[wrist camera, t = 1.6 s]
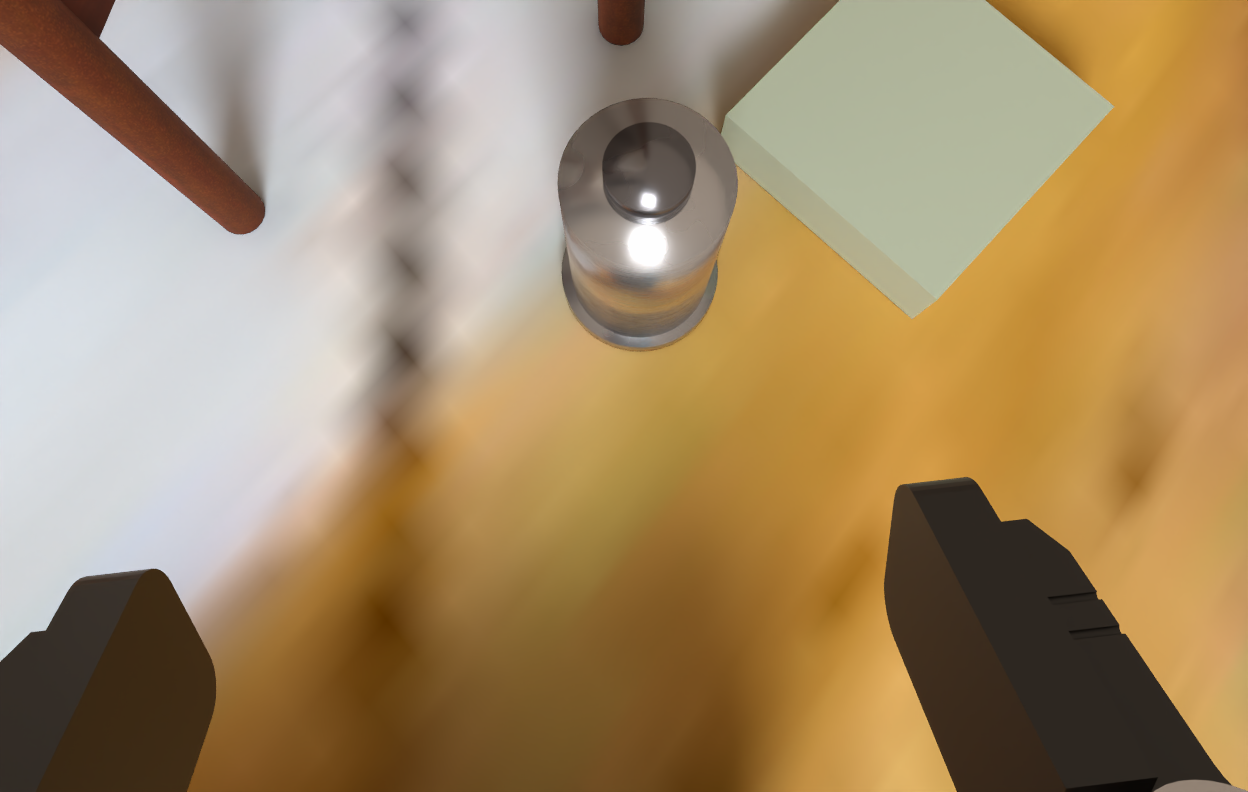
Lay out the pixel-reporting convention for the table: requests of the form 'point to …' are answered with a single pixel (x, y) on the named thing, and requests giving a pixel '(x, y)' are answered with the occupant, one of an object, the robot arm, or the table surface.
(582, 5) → the table surface
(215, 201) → the plant pot with stand
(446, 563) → the table surface
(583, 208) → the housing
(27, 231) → the table surface
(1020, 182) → the green plinth
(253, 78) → the table surface
